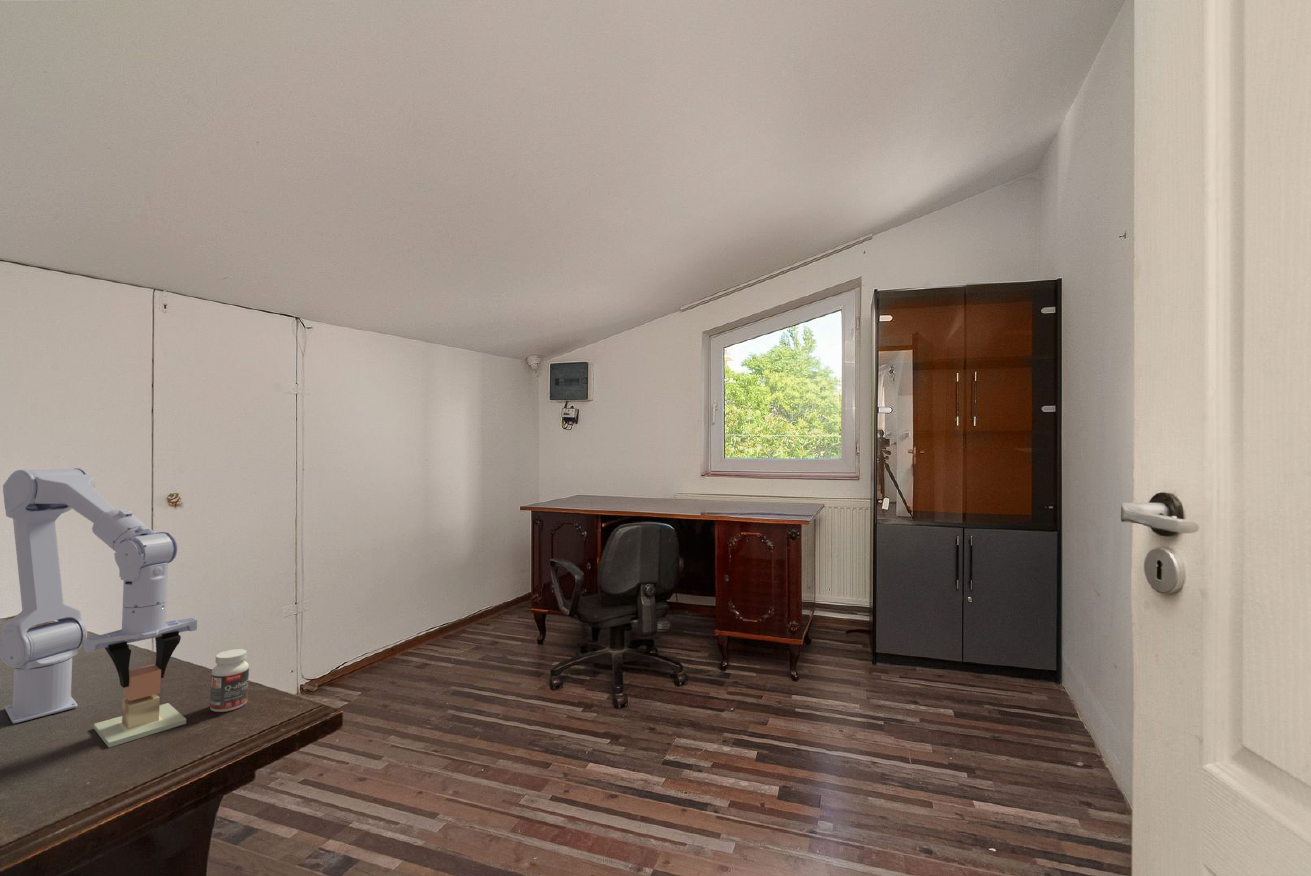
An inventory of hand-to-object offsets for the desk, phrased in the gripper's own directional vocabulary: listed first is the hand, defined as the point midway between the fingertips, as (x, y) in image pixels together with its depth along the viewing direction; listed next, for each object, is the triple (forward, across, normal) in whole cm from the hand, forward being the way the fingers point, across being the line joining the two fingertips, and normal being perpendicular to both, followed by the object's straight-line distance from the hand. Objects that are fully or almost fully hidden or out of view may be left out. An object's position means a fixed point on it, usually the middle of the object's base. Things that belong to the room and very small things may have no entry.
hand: (142, 681), depth 98 cm
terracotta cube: (+2, 0, 0) cm, 2 cm away
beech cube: (+7, 0, 0) cm, 7 cm away
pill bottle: (+8, +12, -3) cm, 15 cm away
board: (+8, 0, 0) cm, 8 cm away
